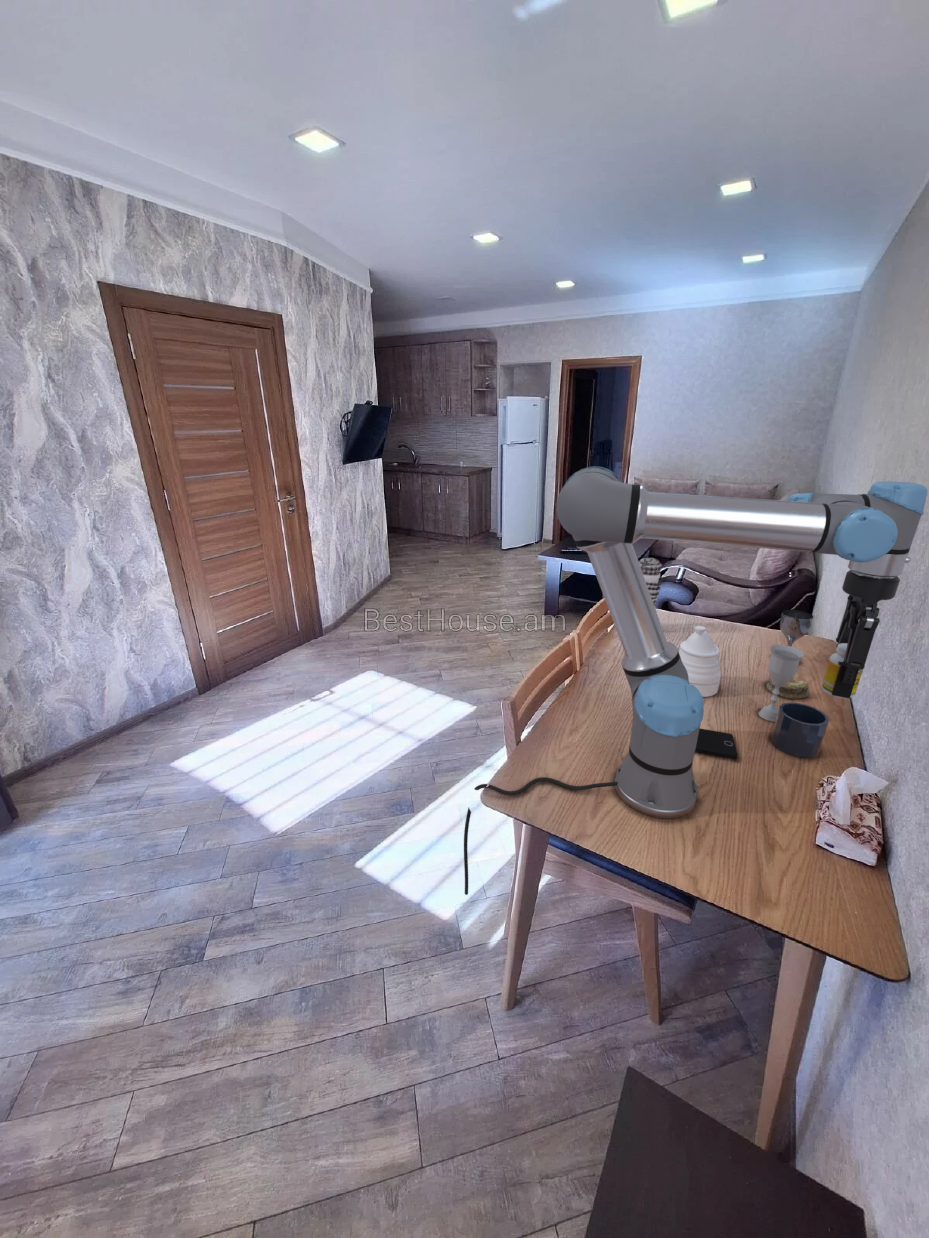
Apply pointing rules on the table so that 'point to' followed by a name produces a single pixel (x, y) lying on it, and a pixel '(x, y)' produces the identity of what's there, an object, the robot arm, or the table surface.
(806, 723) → the cup
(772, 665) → the chalice
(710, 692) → the honey pot
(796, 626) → the wine glass
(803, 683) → the cake
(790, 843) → the table surface
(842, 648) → the supplement bottle
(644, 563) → the decorative candle
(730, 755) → the cell phone
